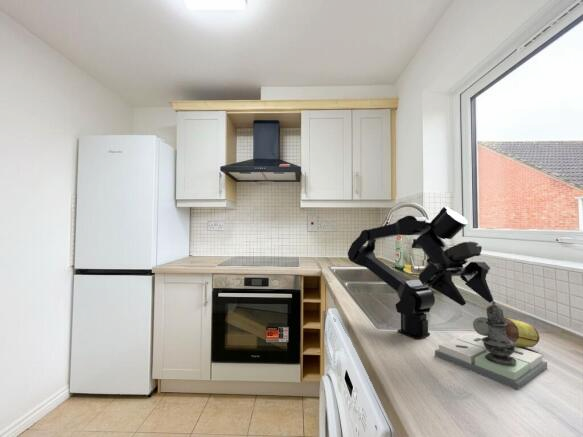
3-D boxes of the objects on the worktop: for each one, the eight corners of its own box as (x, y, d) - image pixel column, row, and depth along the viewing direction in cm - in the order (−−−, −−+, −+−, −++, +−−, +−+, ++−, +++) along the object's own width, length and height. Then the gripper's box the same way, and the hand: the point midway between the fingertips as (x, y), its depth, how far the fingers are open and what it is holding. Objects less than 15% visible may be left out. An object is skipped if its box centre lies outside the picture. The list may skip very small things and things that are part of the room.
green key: (474, 370, 57) (474, 356, 57) (489, 362, 61) (489, 349, 61) (515, 387, 51) (514, 371, 51) (529, 376, 55) (528, 362, 55)
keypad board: (435, 355, 64) (434, 343, 64) (468, 341, 72) (468, 330, 73) (517, 389, 50) (517, 374, 51) (547, 367, 59) (546, 354, 59)
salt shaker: (526, 363, 54) (518, 302, 56) (502, 366, 53) (495, 304, 54) (498, 352, 60) (491, 297, 61) (476, 355, 59) (470, 299, 60)
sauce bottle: (517, 318, 73) (474, 304, 65) (545, 331, 67) (501, 317, 59) (507, 340, 73) (463, 329, 65) (535, 354, 67) (490, 344, 59)
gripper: (428, 229, 63) (474, 285, 53) (482, 230, 70) (533, 281, 59) (403, 258, 70) (439, 313, 60) (454, 257, 77) (495, 306, 66)
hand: (478, 303), depth 61 cm, fingers open, 9 cm apart
